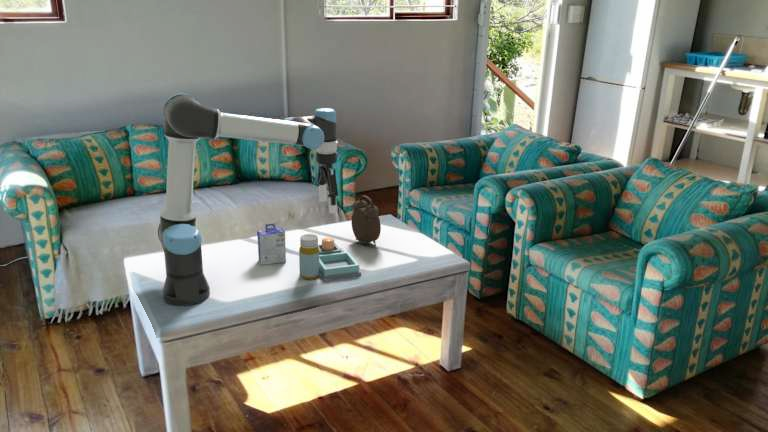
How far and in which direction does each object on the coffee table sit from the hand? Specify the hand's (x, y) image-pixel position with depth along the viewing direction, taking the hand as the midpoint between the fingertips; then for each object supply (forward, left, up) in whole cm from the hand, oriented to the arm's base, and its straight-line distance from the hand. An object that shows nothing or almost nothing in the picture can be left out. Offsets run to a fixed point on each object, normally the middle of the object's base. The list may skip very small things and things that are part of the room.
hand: (327, 207), depth 248 cm
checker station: (0, -6, -21) cm, 22 cm away
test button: (0, +1, -19) cm, 19 cm away
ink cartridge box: (-21, +4, -21) cm, 30 cm away
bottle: (-11, -13, -21) cm, 27 cm away
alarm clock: (+19, +11, -21) cm, 31 cm away
